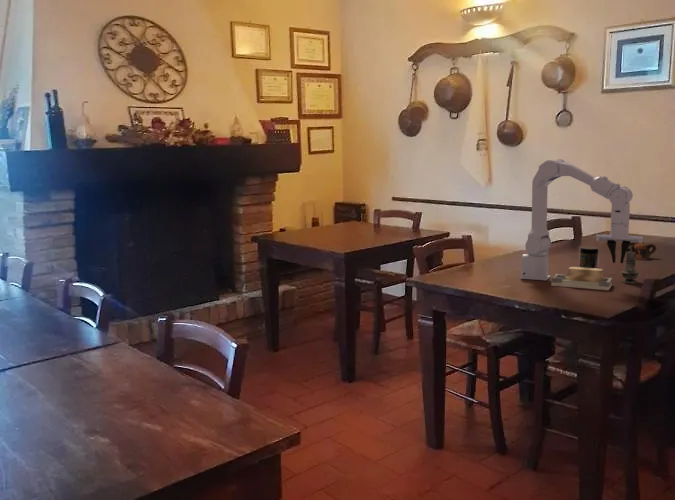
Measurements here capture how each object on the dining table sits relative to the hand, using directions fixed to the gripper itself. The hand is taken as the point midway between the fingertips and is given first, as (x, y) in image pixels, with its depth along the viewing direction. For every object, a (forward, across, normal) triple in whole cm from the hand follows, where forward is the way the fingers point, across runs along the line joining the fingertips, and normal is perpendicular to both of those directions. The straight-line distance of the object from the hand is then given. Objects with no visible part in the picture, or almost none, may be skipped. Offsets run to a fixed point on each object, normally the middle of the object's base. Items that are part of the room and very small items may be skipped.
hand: (617, 262), depth 230 cm
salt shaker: (+9, -3, -12) cm, 15 cm away
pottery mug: (+9, -3, -63) cm, 64 cm away
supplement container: (+9, +12, -19) cm, 24 cm away
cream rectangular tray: (+9, +12, 0) cm, 15 cm away
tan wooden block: (+8, +10, 0) cm, 13 cm away
